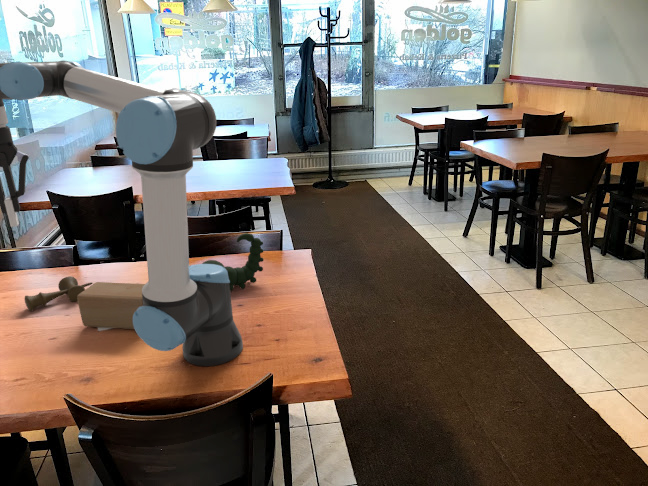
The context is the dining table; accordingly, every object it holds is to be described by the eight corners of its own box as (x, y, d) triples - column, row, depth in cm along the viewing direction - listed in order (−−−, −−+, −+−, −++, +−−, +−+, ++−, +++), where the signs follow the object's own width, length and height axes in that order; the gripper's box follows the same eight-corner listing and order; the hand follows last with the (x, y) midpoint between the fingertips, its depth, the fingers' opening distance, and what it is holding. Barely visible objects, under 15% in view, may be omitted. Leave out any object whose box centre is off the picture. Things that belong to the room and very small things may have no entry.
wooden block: (95, 280, 152) (158, 283, 148) (101, 310, 155) (163, 314, 152) (74, 295, 142) (141, 298, 139) (81, 327, 146) (147, 331, 142)
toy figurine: (255, 280, 178) (183, 292, 165) (255, 227, 172) (181, 236, 160) (267, 290, 170) (192, 303, 158) (267, 235, 165) (190, 244, 152)
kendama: (24, 307, 162) (89, 286, 174) (32, 318, 155) (99, 295, 167) (19, 290, 160) (85, 270, 172) (27, 301, 153) (95, 279, 165)
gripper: (23, 122, 123) (45, 217, 131) (-41, 127, 118) (-14, 225, 126) (20, 125, 116) (43, 225, 125) (-48, 130, 112) (-19, 233, 120)
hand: (14, 225), depth 125 cm, fingers closed
